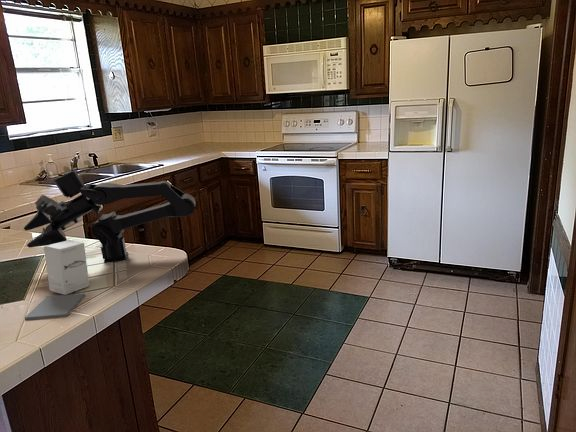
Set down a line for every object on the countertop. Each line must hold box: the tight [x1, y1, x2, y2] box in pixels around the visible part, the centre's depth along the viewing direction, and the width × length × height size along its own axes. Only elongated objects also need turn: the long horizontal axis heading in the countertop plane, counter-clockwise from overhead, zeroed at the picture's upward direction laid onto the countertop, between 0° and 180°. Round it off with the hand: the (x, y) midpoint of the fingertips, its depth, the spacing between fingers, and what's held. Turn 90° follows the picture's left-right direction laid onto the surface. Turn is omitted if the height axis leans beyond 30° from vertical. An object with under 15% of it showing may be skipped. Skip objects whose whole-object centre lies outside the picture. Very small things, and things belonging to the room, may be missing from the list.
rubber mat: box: [24, 292, 86, 321], centre depth 110 cm, size 11×10×1 cm
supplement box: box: [43, 239, 90, 295], centre depth 119 cm, size 7×7×13 cm
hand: (26, 237), depth 131 cm, fingers open, 9 cm apart
